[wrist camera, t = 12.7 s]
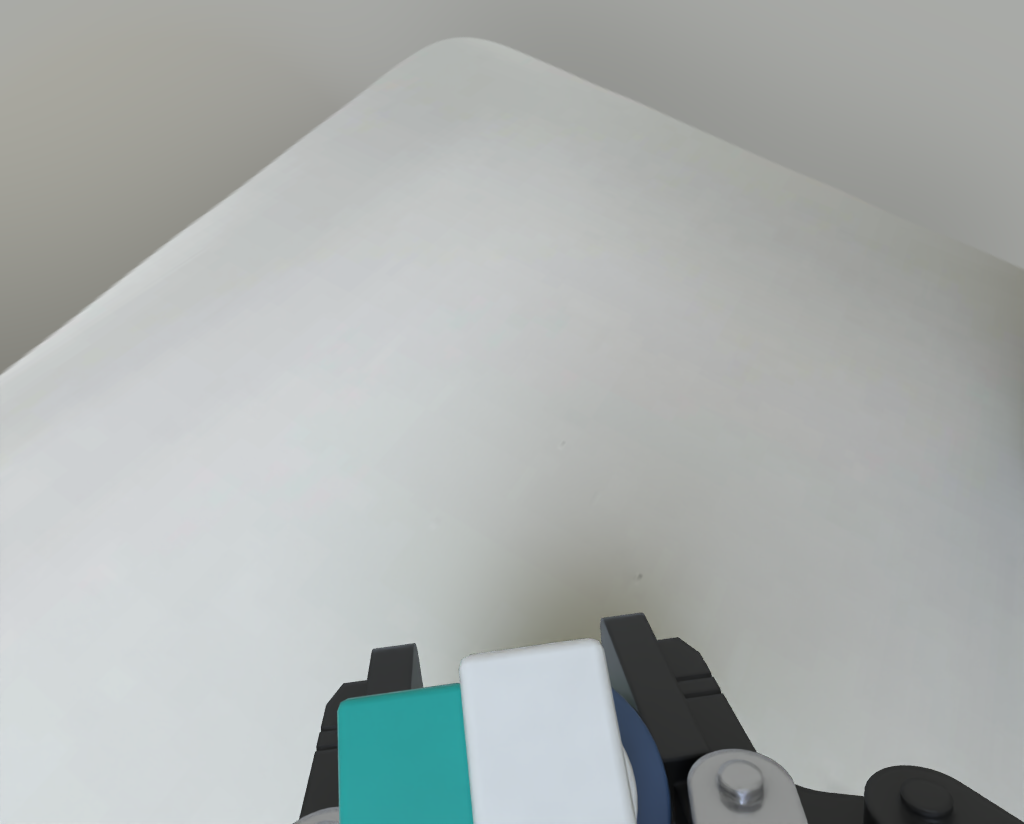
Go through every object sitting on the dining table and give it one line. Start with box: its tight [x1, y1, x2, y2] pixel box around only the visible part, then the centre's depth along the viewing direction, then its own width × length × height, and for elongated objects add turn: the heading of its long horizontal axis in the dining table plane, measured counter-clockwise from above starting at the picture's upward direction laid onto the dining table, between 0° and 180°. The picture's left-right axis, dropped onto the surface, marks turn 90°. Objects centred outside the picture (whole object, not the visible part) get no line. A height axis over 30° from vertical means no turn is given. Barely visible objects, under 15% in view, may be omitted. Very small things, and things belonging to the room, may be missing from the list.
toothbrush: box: [337, 638, 672, 824], centre depth 12 cm, size 3×3×16 cm
